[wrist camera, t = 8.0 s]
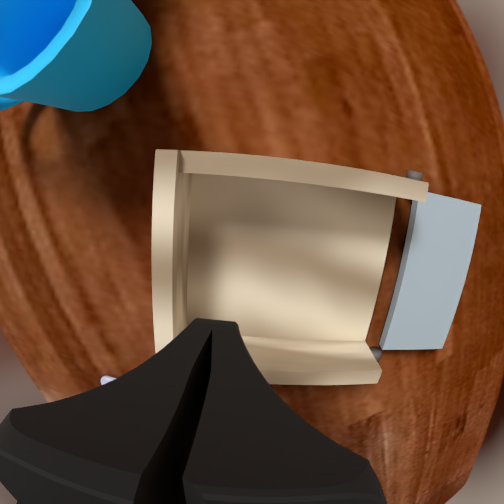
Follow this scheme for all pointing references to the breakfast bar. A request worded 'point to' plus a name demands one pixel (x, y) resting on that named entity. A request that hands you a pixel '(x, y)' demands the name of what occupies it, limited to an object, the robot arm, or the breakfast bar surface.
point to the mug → (70, 52)
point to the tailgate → (431, 273)
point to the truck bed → (275, 257)
